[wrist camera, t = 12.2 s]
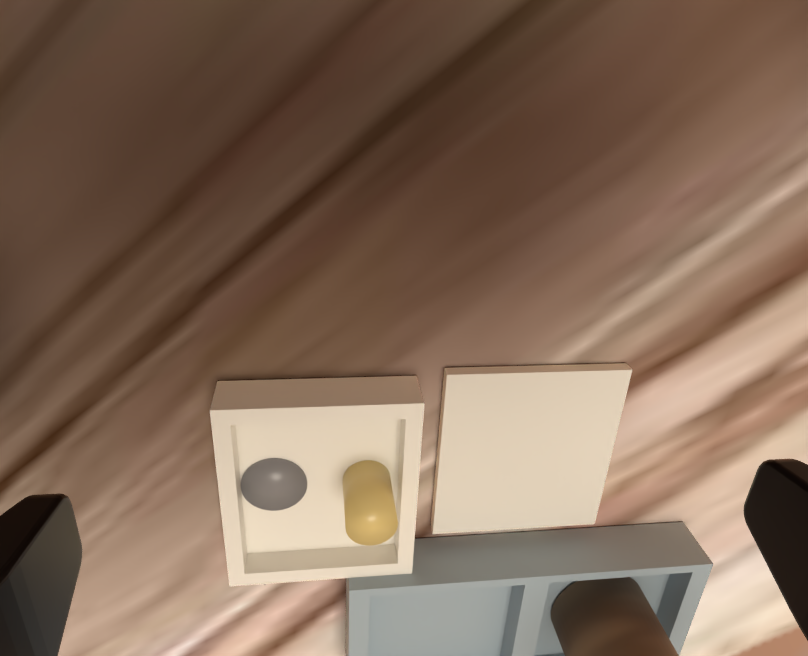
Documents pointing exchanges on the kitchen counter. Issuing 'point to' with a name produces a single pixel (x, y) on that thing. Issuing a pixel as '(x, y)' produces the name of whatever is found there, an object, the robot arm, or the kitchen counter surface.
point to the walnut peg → (608, 620)
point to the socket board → (518, 589)
